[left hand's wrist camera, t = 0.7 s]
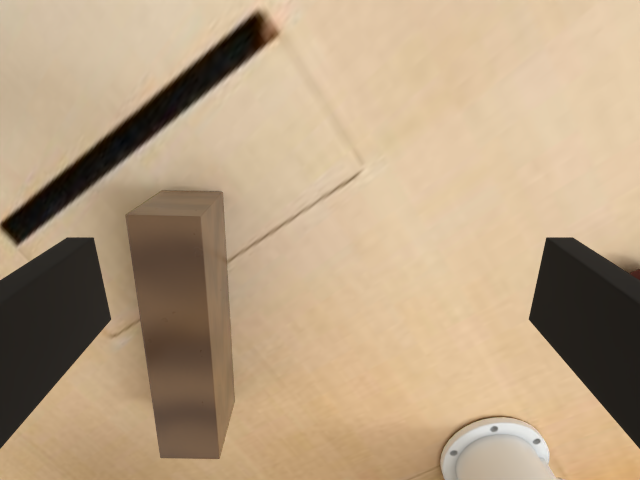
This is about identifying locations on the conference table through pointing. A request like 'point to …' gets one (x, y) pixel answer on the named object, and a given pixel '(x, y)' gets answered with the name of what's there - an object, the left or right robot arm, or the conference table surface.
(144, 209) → the bar
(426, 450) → the conference table surface
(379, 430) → the conference table surface
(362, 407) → the conference table surface
